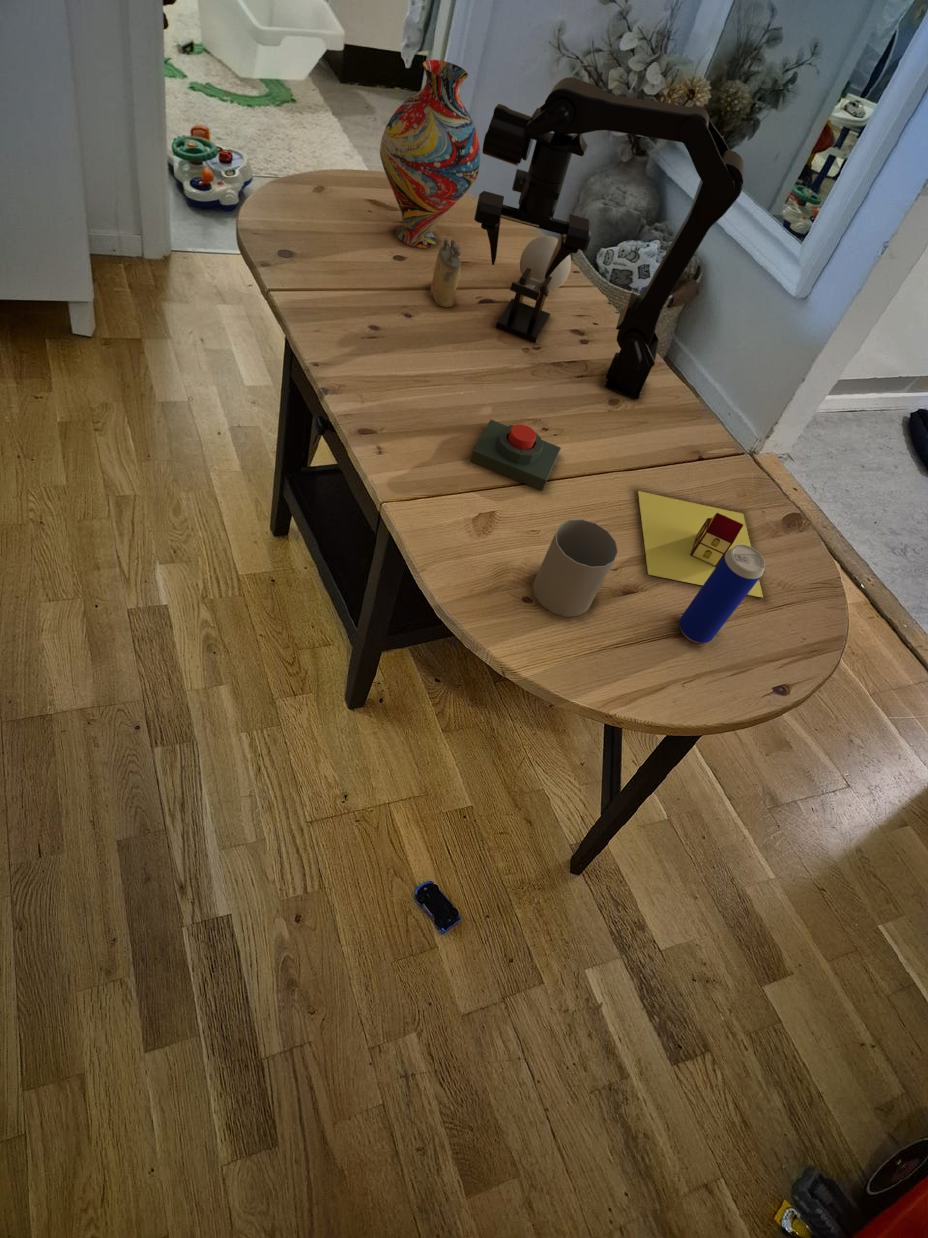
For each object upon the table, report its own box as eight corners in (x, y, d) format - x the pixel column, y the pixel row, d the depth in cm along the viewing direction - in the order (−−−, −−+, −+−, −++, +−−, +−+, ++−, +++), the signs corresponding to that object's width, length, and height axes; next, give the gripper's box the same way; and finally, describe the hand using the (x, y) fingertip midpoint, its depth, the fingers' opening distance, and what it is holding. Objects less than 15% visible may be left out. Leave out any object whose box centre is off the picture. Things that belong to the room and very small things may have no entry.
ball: (518, 297, 156) (532, 248, 148) (510, 270, 162) (523, 222, 154) (566, 304, 158) (582, 256, 151) (556, 277, 164) (572, 230, 157)
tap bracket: (535, 343, 147) (550, 297, 140) (495, 327, 147) (508, 280, 140) (548, 319, 153) (563, 273, 146) (510, 303, 154) (523, 257, 146)
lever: (535, 303, 136) (540, 289, 134) (508, 293, 136) (513, 278, 135) (545, 297, 146) (549, 284, 145) (519, 287, 146) (524, 274, 145)
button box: (556, 457, 127) (564, 438, 124) (542, 491, 121) (550, 471, 118) (487, 429, 128) (493, 409, 125) (469, 461, 122) (475, 441, 119)
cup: (543, 618, 105) (567, 568, 98) (524, 571, 110) (546, 520, 102) (600, 613, 108) (627, 565, 100) (579, 568, 113) (604, 518, 105)
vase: (360, 209, 164) (380, 39, 141) (446, 216, 170) (479, 55, 147) (382, 259, 153) (407, 84, 130) (473, 264, 160) (512, 99, 137)
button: (535, 439, 123) (539, 430, 122) (529, 453, 120) (532, 444, 119) (512, 429, 123) (515, 420, 122) (504, 444, 121) (507, 434, 119)
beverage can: (707, 618, 112) (761, 545, 101) (716, 647, 109) (772, 576, 98) (674, 613, 111) (724, 540, 100) (681, 643, 108) (734, 571, 97)
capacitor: (455, 308, 148) (467, 256, 141) (435, 307, 147) (446, 255, 139) (445, 286, 152) (456, 235, 145) (426, 285, 151) (436, 234, 143)
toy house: (691, 563, 119) (716, 525, 112) (685, 532, 123) (709, 493, 117) (727, 571, 119) (754, 533, 113) (720, 539, 124) (746, 501, 117)
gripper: (603, 169, 129) (572, 262, 141) (491, 138, 127) (469, 234, 139) (604, 199, 122) (572, 293, 133) (486, 166, 120) (463, 265, 131)
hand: (519, 270), depth 134 cm, fingers open, 9 cm apart
